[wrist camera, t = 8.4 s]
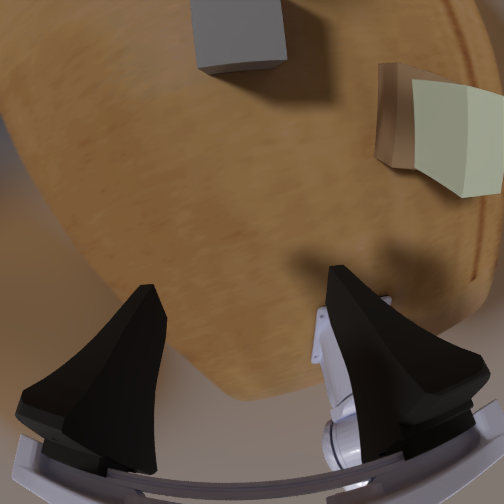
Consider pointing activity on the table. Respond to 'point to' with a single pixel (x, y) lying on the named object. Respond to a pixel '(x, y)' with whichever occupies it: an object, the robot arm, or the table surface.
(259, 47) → the charcoal brick
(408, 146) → the walnut block
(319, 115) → the table surface
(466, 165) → the sage brick
